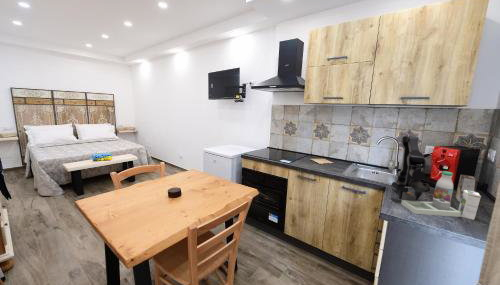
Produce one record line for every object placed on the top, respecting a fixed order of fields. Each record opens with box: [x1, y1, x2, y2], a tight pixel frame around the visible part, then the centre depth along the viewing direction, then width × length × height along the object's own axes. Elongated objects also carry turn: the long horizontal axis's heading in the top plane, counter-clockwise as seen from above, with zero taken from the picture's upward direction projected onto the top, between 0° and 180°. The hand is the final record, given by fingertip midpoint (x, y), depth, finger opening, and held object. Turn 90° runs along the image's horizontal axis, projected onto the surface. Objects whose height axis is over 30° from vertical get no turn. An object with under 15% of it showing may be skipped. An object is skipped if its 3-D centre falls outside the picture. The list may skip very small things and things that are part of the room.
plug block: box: [401, 191, 416, 201], centre depth 123 cm, size 5×5×7 cm
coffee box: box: [455, 174, 479, 203], centre depth 129 cm, size 9×6×16 cm
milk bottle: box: [432, 170, 454, 203], centre depth 123 cm, size 8×8×20 cm
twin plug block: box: [432, 198, 452, 211], centre depth 112 cm, size 5×5×7 cm
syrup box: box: [457, 190, 482, 221], centre depth 107 cm, size 6×6×14 cm
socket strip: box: [400, 200, 461, 218], centre depth 113 cm, size 11×23×4 cm, turn 87°
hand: (407, 199), depth 123 cm, fingers open, 9 cm apart
